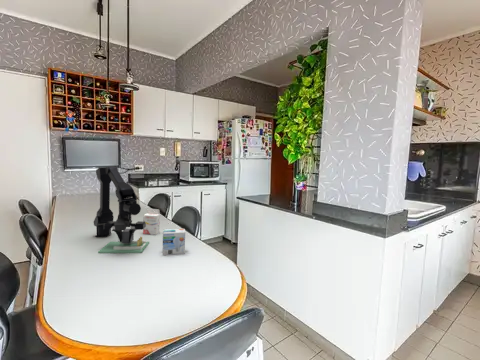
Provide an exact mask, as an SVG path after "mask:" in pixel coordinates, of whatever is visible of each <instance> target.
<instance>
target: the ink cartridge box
mask: <svg viewBox="0 0 480 360" xmlns="http://www.w3.org/2000/svg"><path fill="white" fill-rule="evenodd" d="M160 213H161V212H160V209H159V208H158V209H157V208H147V209H146V213H145V214H143V220H142V221H145V223H146V227H145V228H144V229H142V231H143V232H142V234H143V235H150V236H151V235H152V236H156V235H159V234H160V228H161V227H160V224H161V221H160V219H161V215H160Z"/></svg>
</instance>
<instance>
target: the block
mask: <svg viewBox="0 0 480 360" xmlns="http://www.w3.org/2000/svg"><path fill="white" fill-rule="evenodd" d="M130 229H131V228H126V229H125V230H122V243H131V242H132V241H135V240H134V234H135V233H134V234H133V236H132V239H131V242H129V230H130Z"/></svg>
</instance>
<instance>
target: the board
mask: <svg viewBox="0 0 480 360" xmlns="http://www.w3.org/2000/svg"><path fill="white" fill-rule="evenodd" d="M149 244H150V241H147V240H143V236H140V237H138V239H137V240H133V241H132V242H131V243H122V242H120V241H109V242H108V243H107V244H105V245H104V246H103V247H102V248H100V250H98V251H97V253H98V254H141V253H142V254H143V252H144V251H145V250H146V248H147V247H148V246H149Z"/></svg>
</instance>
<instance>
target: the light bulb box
mask: <svg viewBox="0 0 480 360" xmlns="http://www.w3.org/2000/svg"><path fill="white" fill-rule="evenodd" d="M185 251H186V229H185V228H171V229H170V228H169V229H167V228H166V229H163V231H162V256H166V255H168V256H169V255H183V254H184V255H185Z"/></svg>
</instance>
